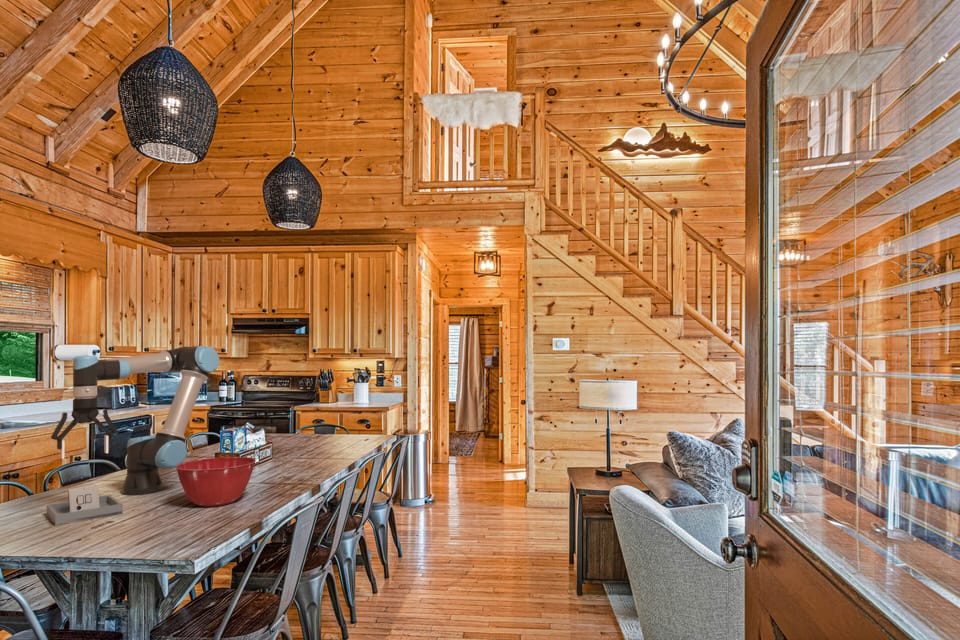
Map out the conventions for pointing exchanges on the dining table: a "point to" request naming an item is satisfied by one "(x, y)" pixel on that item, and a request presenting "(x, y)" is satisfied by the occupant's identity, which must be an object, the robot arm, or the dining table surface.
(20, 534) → the dining table surface
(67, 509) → the parts tray
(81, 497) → the electrical switch
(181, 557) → the dining table surface
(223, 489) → the mixing bowl
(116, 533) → the dining table surface
